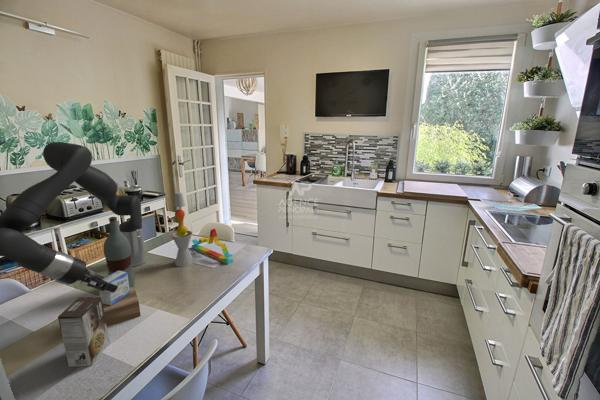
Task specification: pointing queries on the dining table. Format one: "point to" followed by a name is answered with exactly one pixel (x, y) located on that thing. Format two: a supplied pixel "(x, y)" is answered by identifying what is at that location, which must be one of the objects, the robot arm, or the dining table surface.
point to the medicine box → (123, 288)
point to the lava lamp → (181, 235)
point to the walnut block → (122, 309)
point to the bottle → (118, 252)
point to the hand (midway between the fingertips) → (111, 286)
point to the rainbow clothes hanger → (209, 252)
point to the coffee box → (84, 331)
